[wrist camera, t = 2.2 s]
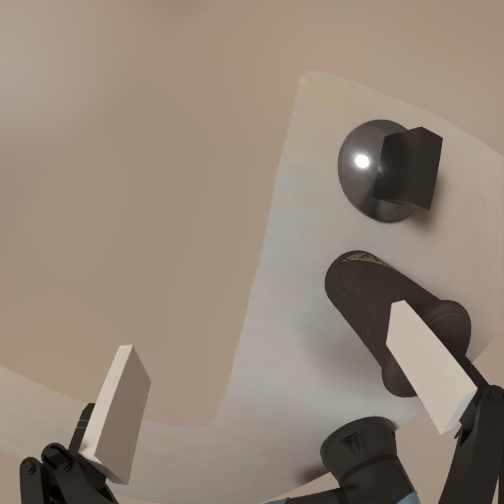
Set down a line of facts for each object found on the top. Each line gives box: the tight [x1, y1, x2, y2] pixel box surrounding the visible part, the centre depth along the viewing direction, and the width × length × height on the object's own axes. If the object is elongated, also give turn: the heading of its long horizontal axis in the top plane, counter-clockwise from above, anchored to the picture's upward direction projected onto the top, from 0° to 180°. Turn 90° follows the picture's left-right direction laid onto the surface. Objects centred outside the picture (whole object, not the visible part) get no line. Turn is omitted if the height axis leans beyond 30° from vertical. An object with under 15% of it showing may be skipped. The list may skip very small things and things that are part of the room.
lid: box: [338, 120, 443, 221], centre depth 29 cm, size 13×13×10 cm
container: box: [325, 250, 471, 397], centre depth 27 cm, size 9×9×20 cm
